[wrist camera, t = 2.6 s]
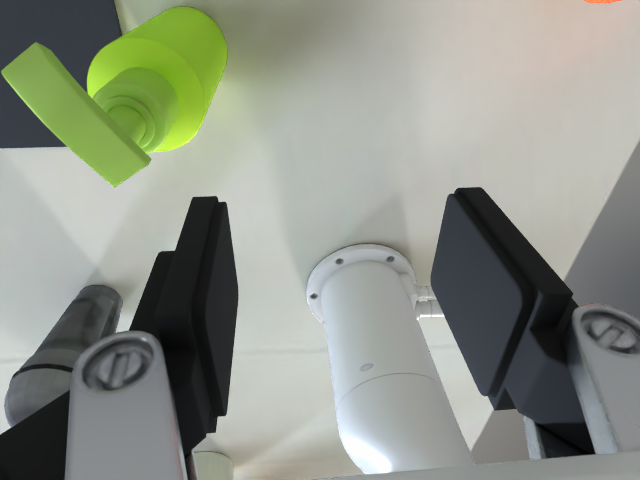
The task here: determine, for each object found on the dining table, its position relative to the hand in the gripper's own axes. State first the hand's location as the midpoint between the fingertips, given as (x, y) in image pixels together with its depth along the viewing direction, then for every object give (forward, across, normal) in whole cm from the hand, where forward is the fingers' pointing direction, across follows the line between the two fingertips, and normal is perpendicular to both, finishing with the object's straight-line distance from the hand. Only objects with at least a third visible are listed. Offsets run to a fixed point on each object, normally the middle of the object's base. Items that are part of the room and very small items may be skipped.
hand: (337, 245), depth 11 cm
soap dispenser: (+28, +8, 0) cm, 29 cm away
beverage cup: (+28, +22, +26) cm, 44 cm away
